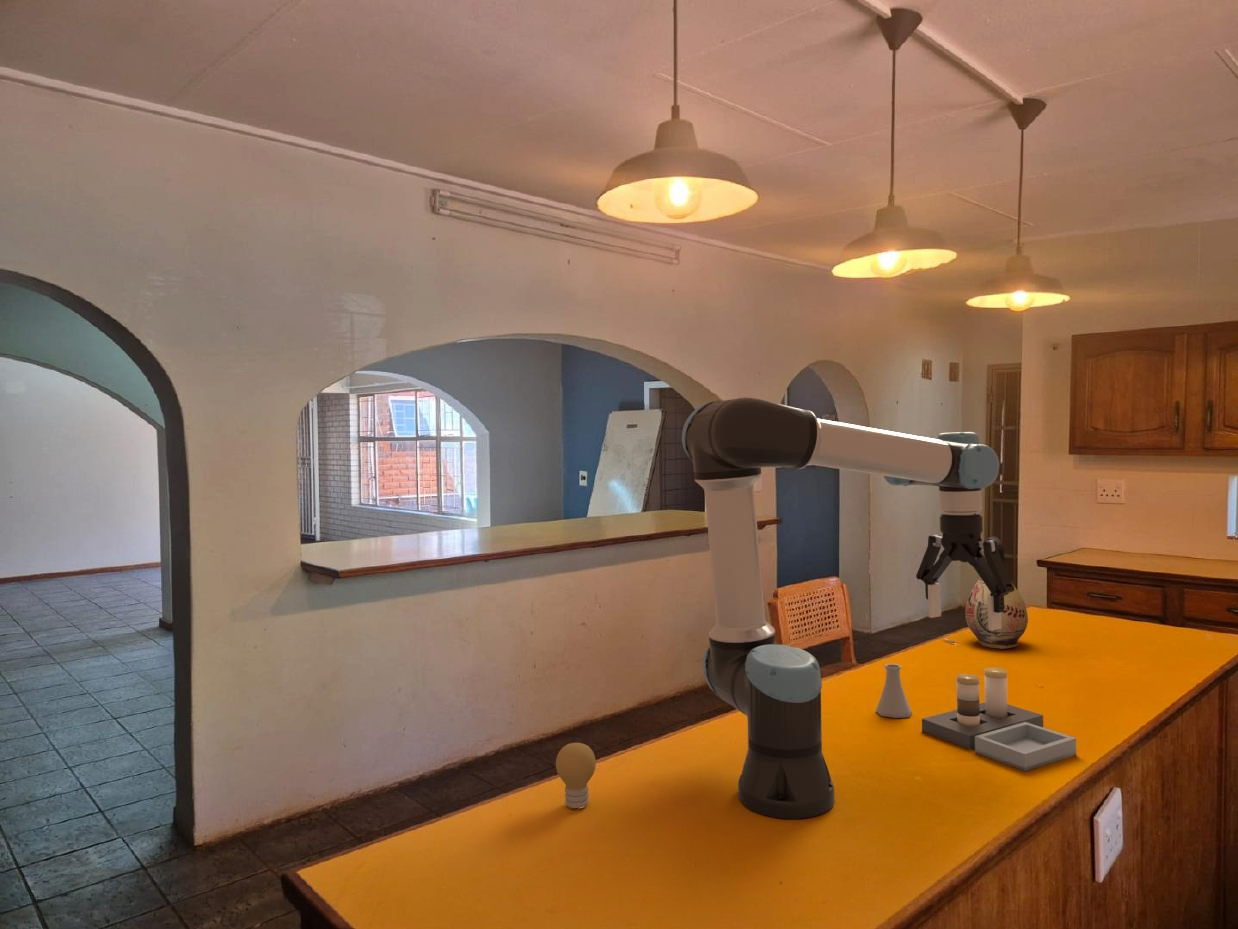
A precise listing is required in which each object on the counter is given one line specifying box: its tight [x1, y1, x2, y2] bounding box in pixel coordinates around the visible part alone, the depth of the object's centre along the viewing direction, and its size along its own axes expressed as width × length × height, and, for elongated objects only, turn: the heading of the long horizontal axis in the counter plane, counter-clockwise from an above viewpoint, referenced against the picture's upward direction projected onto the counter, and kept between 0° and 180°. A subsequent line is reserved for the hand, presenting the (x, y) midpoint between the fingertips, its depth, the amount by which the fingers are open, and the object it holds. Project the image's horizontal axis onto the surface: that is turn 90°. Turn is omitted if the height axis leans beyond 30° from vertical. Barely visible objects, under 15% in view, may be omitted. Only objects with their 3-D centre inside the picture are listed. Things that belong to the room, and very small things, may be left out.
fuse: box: [984, 667, 1008, 719], centre depth 161 cm, size 4×4×11 cm
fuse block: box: [921, 702, 1044, 750], centre depth 159 cm, size 21×11×2 cm, turn 118°
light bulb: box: [555, 742, 597, 809], centre depth 130 cm, size 6×6×10 cm
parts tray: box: [974, 722, 1077, 773], centre depth 147 cm, size 14×10×3 cm
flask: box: [875, 663, 913, 719], centre depth 170 cm, size 7×7×10 cm
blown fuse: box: [956, 673, 981, 727], centre depth 157 cm, size 4×4×11 cm
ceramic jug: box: [964, 536, 1029, 650], centre depth 221 cm, size 17×15×30 cm
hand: (963, 623), depth 157 cm, fingers open, 13 cm apart
